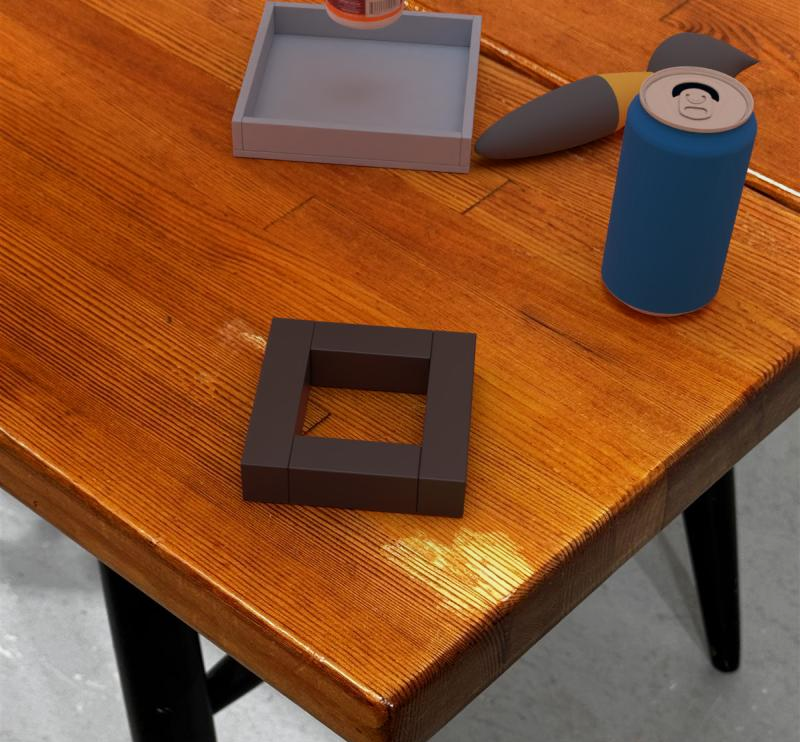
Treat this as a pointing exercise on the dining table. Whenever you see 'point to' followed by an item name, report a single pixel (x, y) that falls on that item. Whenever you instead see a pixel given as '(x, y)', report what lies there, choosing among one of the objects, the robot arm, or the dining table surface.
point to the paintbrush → (599, 101)
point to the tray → (360, 90)
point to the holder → (358, 459)
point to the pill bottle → (365, 12)
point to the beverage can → (678, 190)
